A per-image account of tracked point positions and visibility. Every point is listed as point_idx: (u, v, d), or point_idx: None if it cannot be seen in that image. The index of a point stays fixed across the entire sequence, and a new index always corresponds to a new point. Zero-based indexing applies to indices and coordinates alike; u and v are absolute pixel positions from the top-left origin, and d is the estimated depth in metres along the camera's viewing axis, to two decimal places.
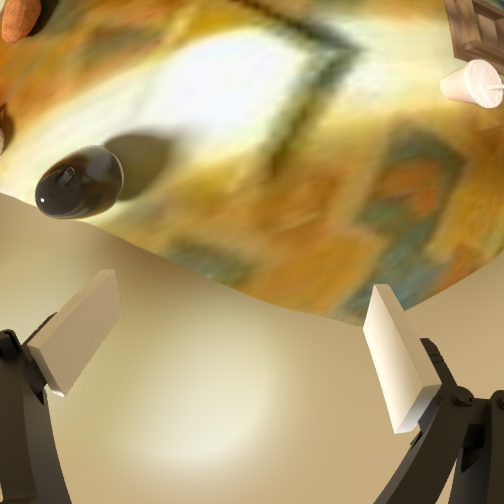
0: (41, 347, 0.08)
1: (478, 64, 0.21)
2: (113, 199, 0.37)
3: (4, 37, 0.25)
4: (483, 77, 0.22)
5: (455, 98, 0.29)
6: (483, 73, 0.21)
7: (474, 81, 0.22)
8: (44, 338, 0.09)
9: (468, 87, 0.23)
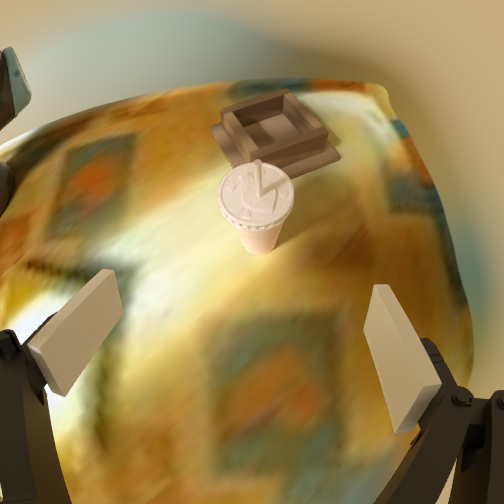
0: (41, 347, 0.08)
1: (233, 178, 0.25)
2: None
3: None
4: (246, 189, 0.24)
5: (259, 247, 0.29)
6: (245, 183, 0.24)
7: (233, 205, 0.24)
8: (44, 338, 0.09)
9: (231, 221, 0.24)
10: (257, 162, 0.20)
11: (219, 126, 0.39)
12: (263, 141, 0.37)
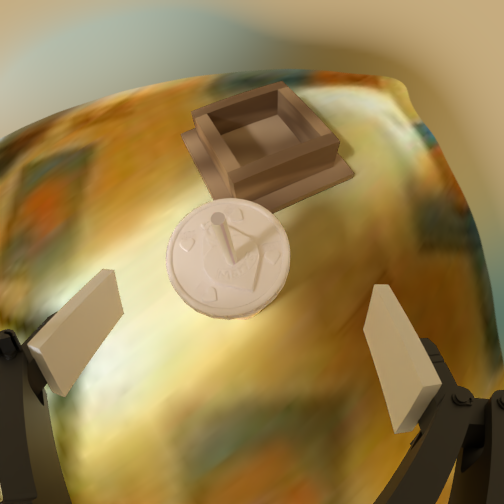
0: (41, 347, 0.08)
1: (191, 227, 0.15)
2: None
3: None
4: (210, 247, 0.15)
5: None
6: (209, 236, 0.15)
7: (188, 277, 0.14)
8: (44, 338, 0.09)
9: None
10: (217, 218, 0.10)
11: (193, 133, 0.29)
12: (250, 153, 0.28)
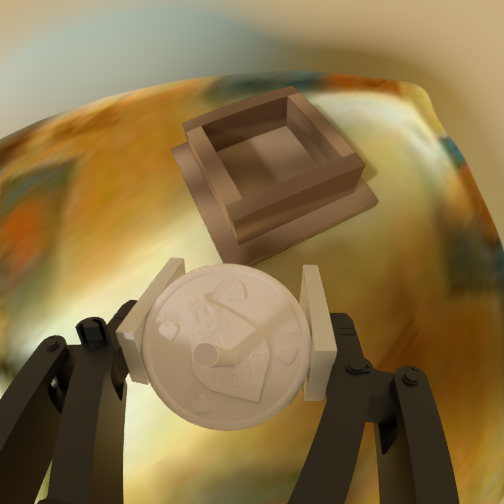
0: (134, 333, 0.10)
1: (175, 305, 0.11)
2: None
3: None
4: (201, 338, 0.10)
5: None
6: (200, 321, 0.11)
7: (172, 378, 0.10)
8: (135, 324, 0.10)
9: None
10: (205, 355, 0.06)
11: (186, 148, 0.25)
12: (254, 174, 0.23)
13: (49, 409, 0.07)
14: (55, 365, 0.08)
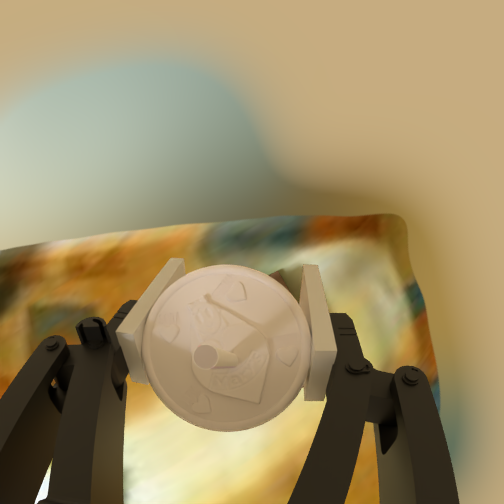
0: (134, 333, 0.10)
1: (175, 306, 0.11)
2: None
3: None
4: (201, 339, 0.10)
5: None
6: (200, 322, 0.10)
7: (172, 379, 0.10)
8: (135, 324, 0.10)
9: None
10: (205, 356, 0.06)
11: None
12: None
13: (49, 409, 0.07)
14: (55, 365, 0.08)
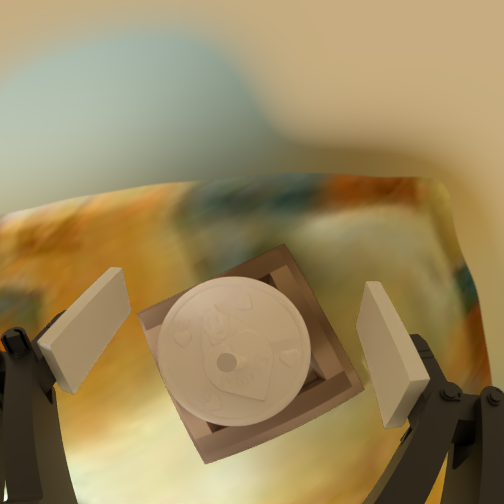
0: (52, 344, 0.08)
1: (187, 314, 0.12)
2: None
3: None
4: (212, 344, 0.11)
5: None
6: (211, 329, 0.12)
7: (186, 380, 0.11)
8: (54, 335, 0.09)
9: None
10: (226, 362, 0.07)
11: None
12: None
13: None
14: None
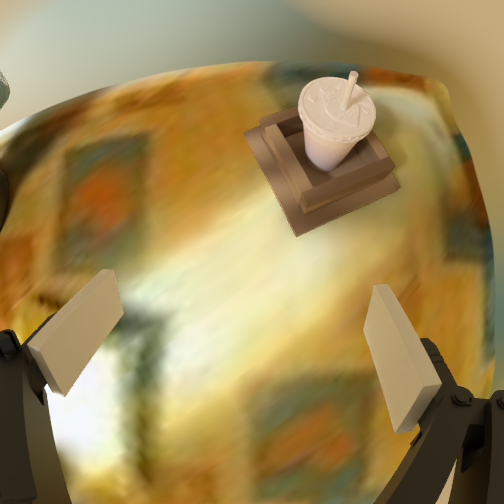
0: (41, 347, 0.08)
1: (313, 90, 0.21)
2: None
3: None
4: (328, 101, 0.21)
5: (328, 163, 0.27)
6: (326, 95, 0.21)
7: (317, 115, 0.20)
8: (44, 338, 0.09)
9: (315, 131, 0.21)
10: (354, 73, 0.16)
11: (256, 132, 0.31)
12: None
13: None
14: None
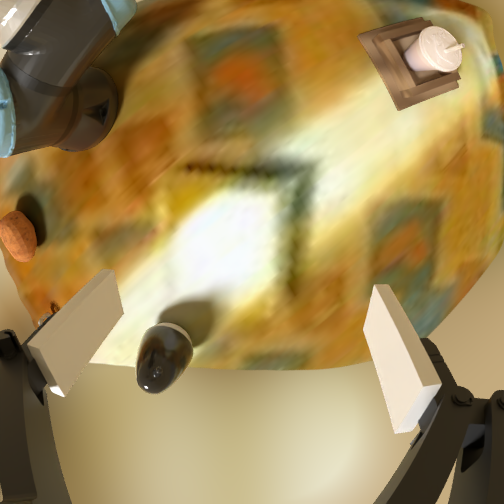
0: (41, 347, 0.08)
1: (428, 34, 0.23)
2: (191, 356, 0.51)
3: (18, 260, 0.47)
4: (437, 44, 0.23)
5: (422, 70, 0.30)
6: (436, 40, 0.23)
7: (432, 53, 0.24)
8: (44, 338, 0.09)
9: (429, 61, 0.25)
10: (463, 45, 0.19)
11: (367, 36, 0.32)
12: None
13: None
14: None
